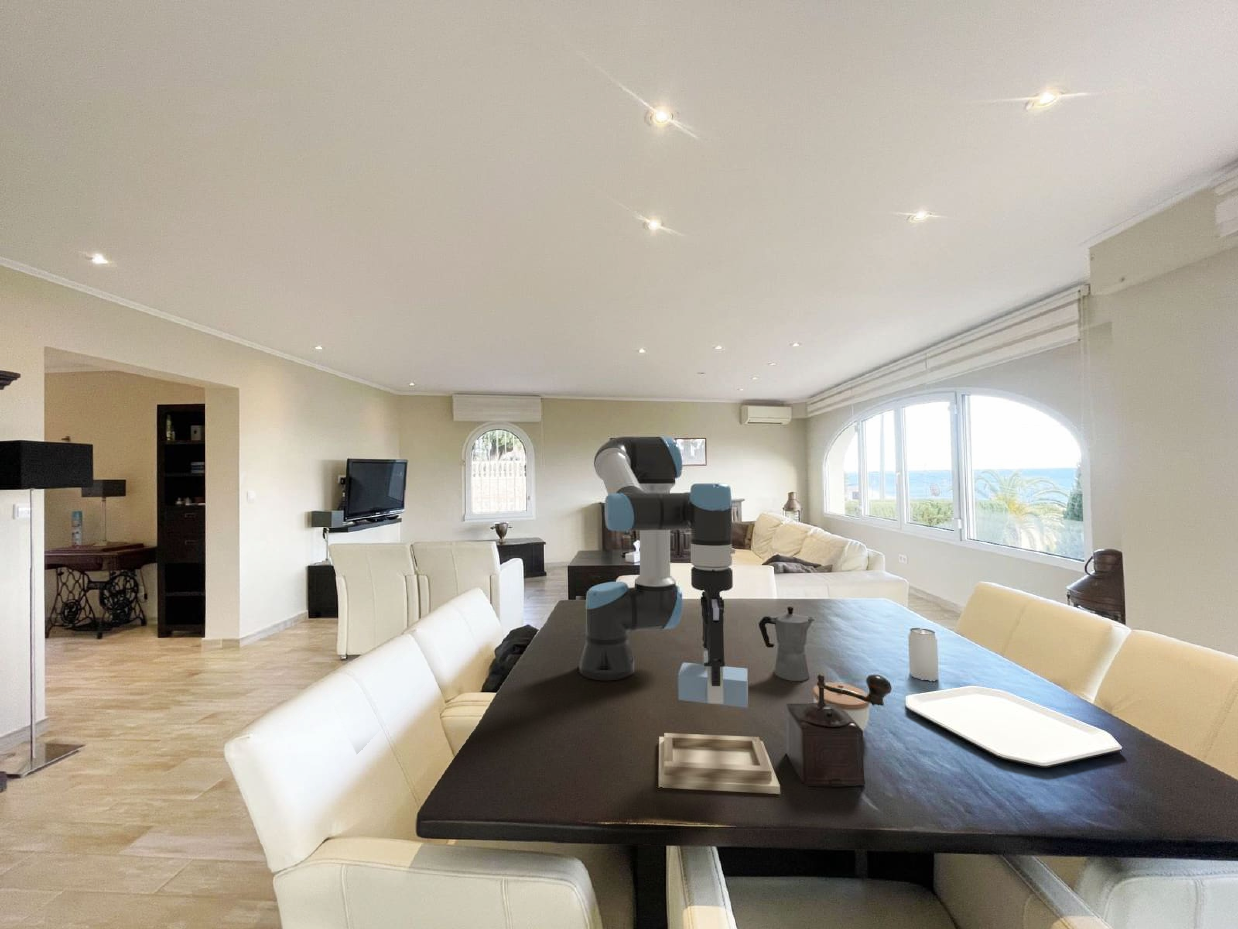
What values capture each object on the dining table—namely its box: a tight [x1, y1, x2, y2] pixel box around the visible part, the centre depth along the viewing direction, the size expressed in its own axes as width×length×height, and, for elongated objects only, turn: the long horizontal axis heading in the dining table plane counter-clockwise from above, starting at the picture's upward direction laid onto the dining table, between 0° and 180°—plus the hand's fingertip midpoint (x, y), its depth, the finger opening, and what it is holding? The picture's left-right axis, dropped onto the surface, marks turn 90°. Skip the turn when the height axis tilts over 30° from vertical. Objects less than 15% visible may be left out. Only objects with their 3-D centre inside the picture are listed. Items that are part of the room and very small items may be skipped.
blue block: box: [677, 662, 749, 709], centre depth 87 cm, size 12×6×4 cm, turn 74°
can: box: [907, 627, 939, 681], centre depth 126 cm, size 6×6×12 cm
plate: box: [904, 685, 1123, 769], centre depth 100 cm, size 29×29×2 cm
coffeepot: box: [758, 606, 815, 682], centre depth 128 cm, size 15×9×18 cm, turn 95°
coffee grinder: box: [785, 673, 892, 788], centre depth 86 cm, size 16×11×18 cm
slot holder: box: [658, 732, 781, 795], centre depth 87 cm, size 20×14×3 cm
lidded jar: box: [812, 682, 871, 731], centre depth 99 cm, size 11×11×9 cm
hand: (713, 693), depth 87 cm, fingers closed on blue block, 7 cm apart
